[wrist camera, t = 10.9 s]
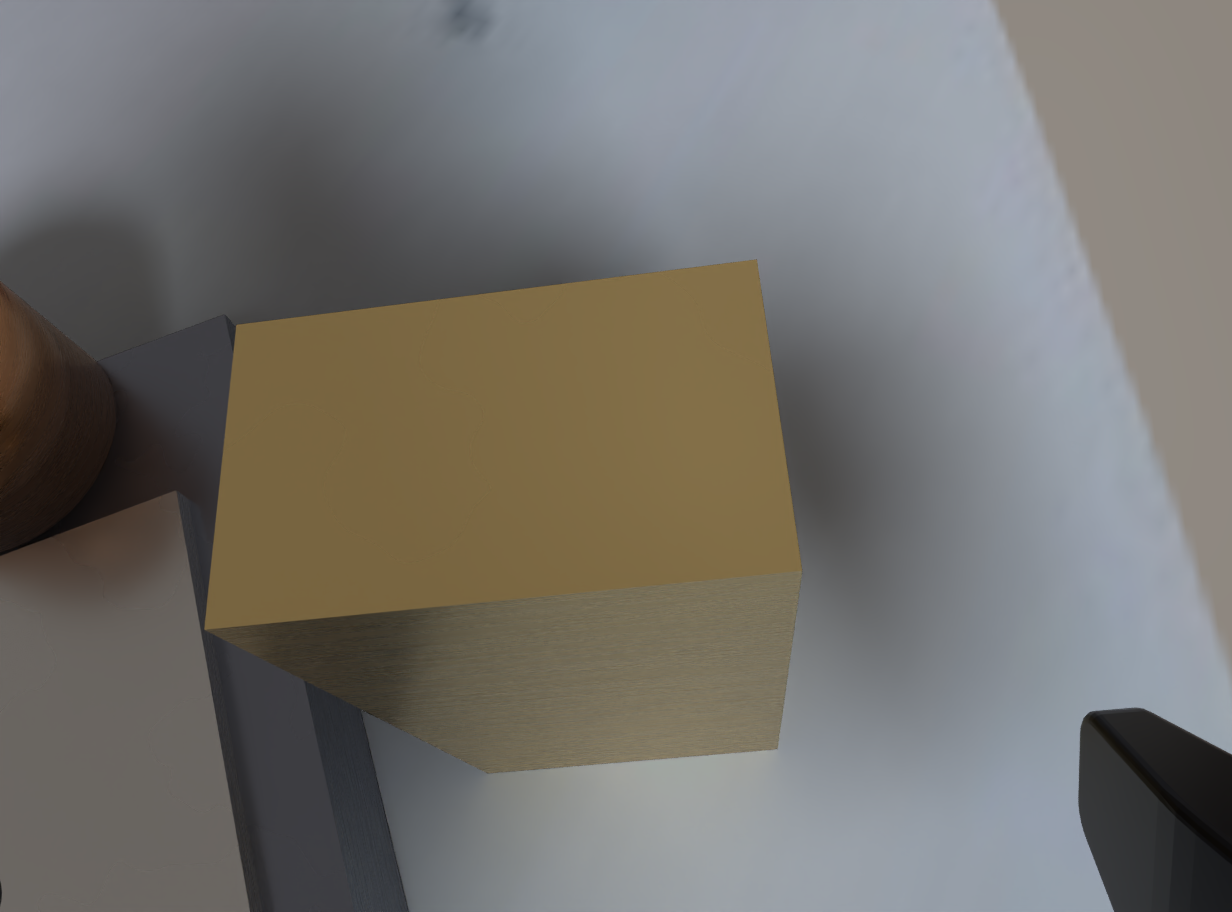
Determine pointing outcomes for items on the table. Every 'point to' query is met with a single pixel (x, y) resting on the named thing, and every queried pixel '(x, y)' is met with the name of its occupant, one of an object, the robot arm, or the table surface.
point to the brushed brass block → (520, 517)
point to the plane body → (152, 660)
